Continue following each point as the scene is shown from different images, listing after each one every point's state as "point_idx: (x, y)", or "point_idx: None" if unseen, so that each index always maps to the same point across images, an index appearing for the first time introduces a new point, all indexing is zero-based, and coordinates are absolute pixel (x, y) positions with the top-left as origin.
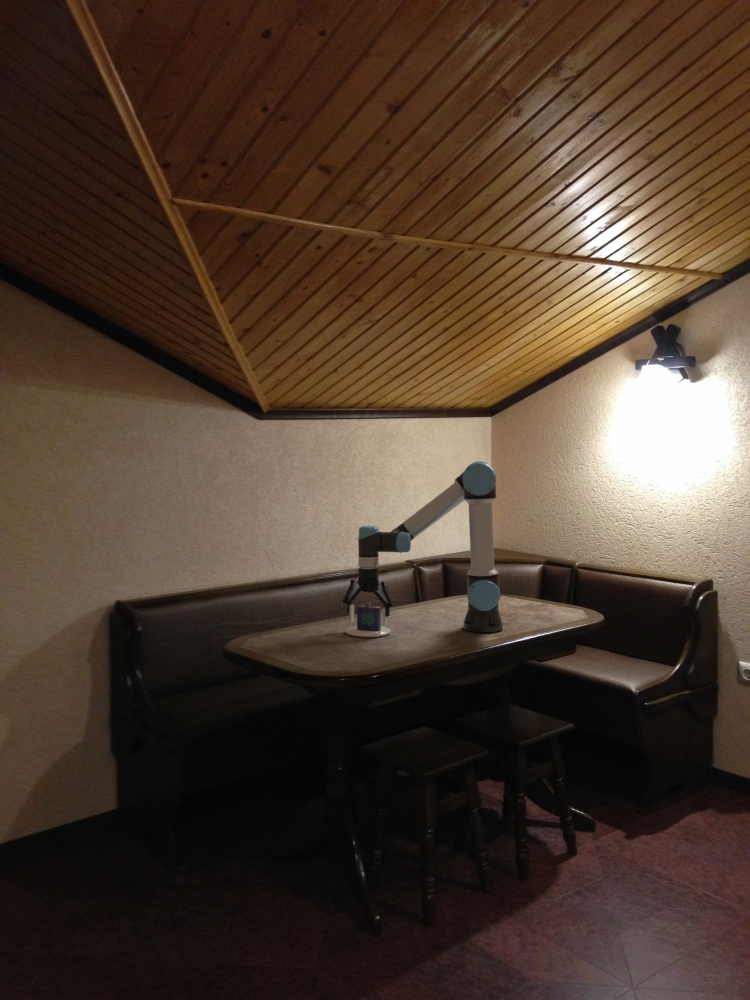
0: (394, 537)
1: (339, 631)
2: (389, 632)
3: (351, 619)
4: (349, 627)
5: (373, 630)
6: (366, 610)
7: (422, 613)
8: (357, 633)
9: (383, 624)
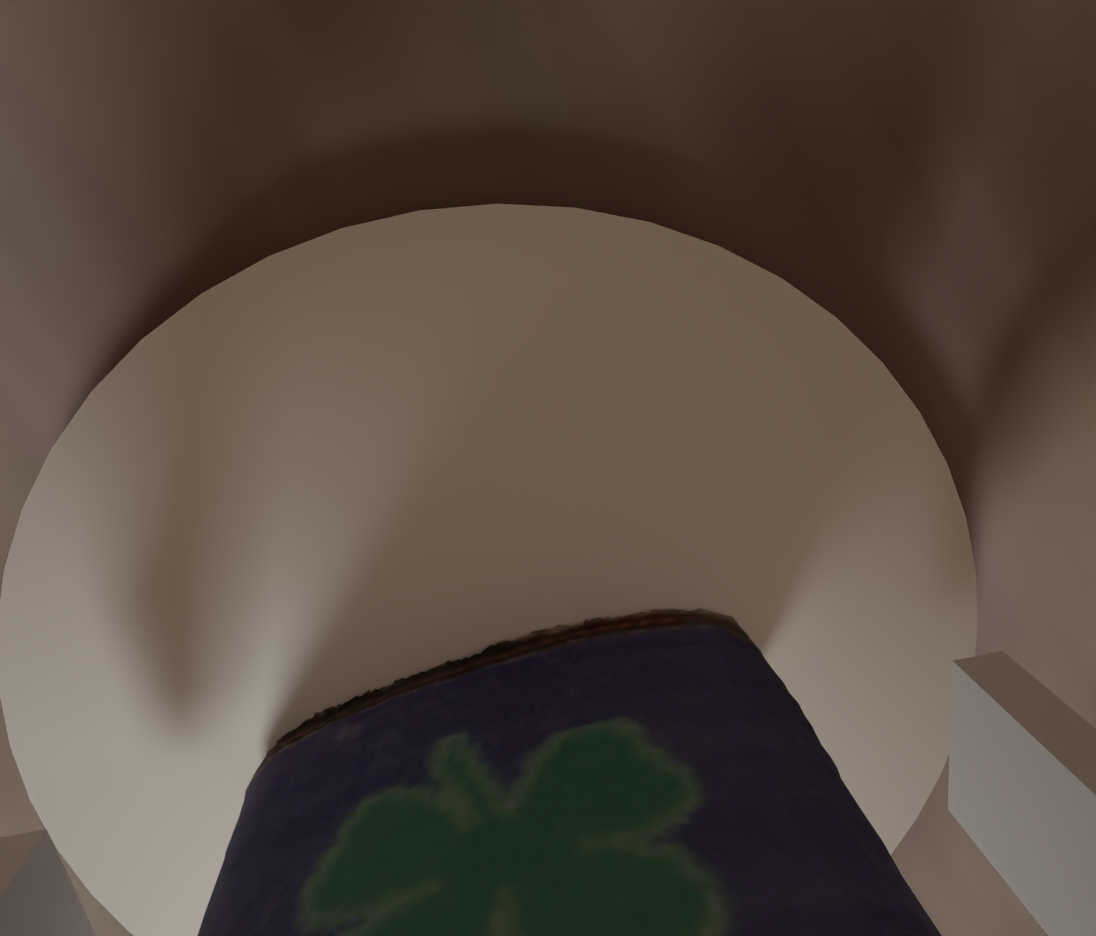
0: None
1: (1079, 502)
2: (38, 799)
3: (1004, 726)
4: None
5: (360, 700)
6: None
7: None
8: (544, 317)
9: (11, 857)
